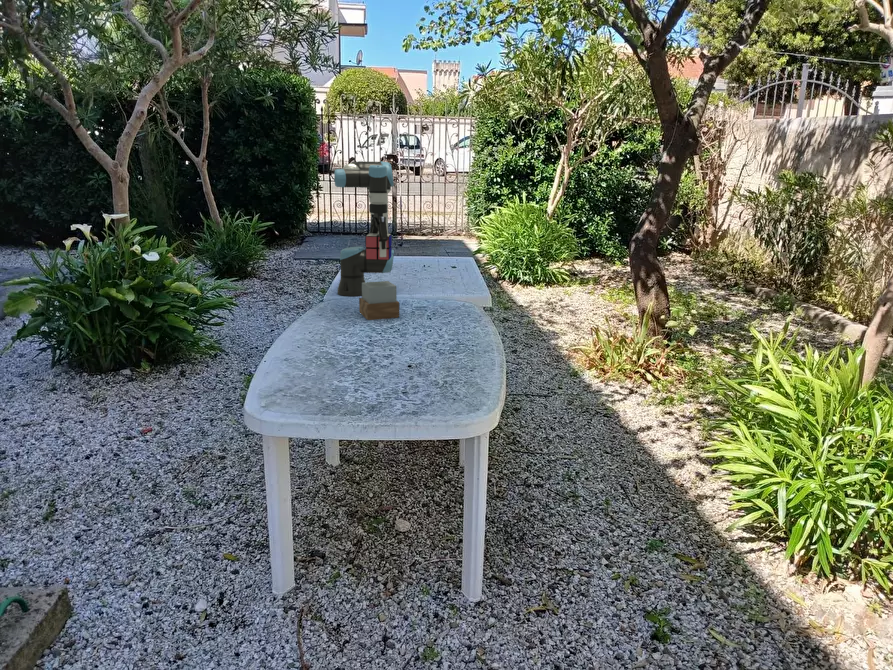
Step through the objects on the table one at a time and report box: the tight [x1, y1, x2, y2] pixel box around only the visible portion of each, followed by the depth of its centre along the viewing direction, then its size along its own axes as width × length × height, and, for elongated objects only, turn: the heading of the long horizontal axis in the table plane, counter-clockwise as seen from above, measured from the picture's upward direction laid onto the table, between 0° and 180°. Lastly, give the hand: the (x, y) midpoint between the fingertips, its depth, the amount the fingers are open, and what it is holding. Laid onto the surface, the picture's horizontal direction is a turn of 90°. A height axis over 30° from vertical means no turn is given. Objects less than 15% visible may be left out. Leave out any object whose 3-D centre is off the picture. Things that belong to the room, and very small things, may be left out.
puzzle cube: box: [364, 232, 393, 260], centre depth 270 cm, size 10×10×10 cm
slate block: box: [361, 280, 398, 304], centre depth 275 cm, size 12×12×7 cm
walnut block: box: [358, 297, 400, 321], centre depth 276 cm, size 14×14×7 cm
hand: (378, 254), depth 271 cm, fingers closed on puzzle cube, 12 cm apart
